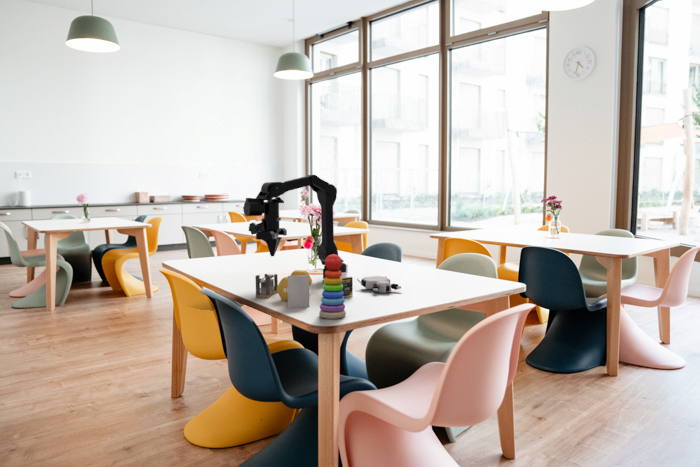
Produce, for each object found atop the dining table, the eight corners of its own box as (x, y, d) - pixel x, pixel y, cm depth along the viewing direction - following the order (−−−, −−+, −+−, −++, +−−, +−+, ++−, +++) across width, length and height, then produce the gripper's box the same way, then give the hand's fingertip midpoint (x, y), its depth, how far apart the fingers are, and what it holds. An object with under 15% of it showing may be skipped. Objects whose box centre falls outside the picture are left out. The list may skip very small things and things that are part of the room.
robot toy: (403, 295, 189) (384, 285, 202) (403, 283, 188) (385, 274, 202) (373, 298, 184) (356, 287, 197) (373, 286, 183) (356, 276, 197)
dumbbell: (301, 302, 174) (300, 278, 173) (275, 301, 176) (274, 278, 175) (313, 291, 193) (313, 269, 192) (290, 290, 194) (289, 269, 194)
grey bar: (268, 277, 190) (268, 273, 190) (273, 277, 190) (273, 273, 190) (259, 283, 181) (259, 279, 181) (264, 283, 180) (264, 279, 180)
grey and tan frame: (266, 292, 191) (265, 271, 191) (277, 292, 191) (277, 271, 190) (255, 298, 181) (255, 276, 180) (268, 298, 180) (267, 276, 180)
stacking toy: (333, 321, 149) (332, 256, 147) (313, 316, 154) (312, 254, 152) (351, 316, 155) (350, 254, 153) (332, 311, 160) (331, 251, 158)
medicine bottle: (334, 298, 179) (334, 264, 178) (326, 294, 186) (325, 261, 185) (352, 296, 183) (352, 262, 182) (343, 292, 189) (343, 260, 188)
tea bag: (309, 306, 167) (309, 276, 167) (288, 307, 166) (288, 277, 165) (308, 304, 171) (308, 274, 170) (288, 305, 170) (287, 275, 169)
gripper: (260, 214, 206) (260, 252, 208) (241, 216, 188) (243, 259, 190) (286, 214, 204) (287, 253, 206) (271, 216, 186) (272, 259, 188)
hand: (272, 256), depth 197 cm, fingers closed
